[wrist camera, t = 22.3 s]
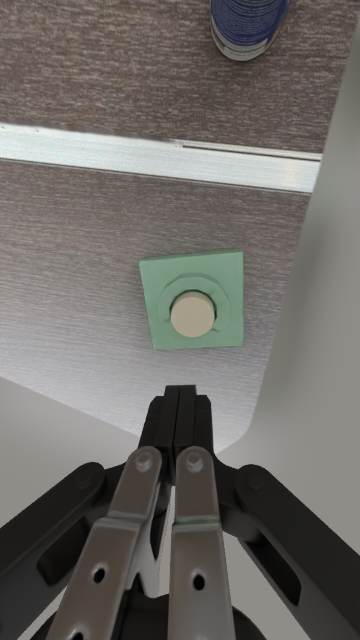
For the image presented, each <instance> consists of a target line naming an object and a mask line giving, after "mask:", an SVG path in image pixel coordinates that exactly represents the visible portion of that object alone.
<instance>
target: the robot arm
mask: <svg viewBox="0 0 360 640" xmlns="http://www.w3.org/2000/svg"><path fill="white" fill-rule="evenodd" d="M172 486H175V487H176V488H175V518H174V523H173V524H172V533H171V561H170V587H169V594H166V595H163V596H160V597H158V592H159V571H160V562H161V556H162V551H163V545H164V539H165V534H166V528H167V523H168V517H169V511H170V496H171V488H172ZM222 531H224V532H226V533H228V534H231V535H233V536H235V537H237V539H238V541H239V542H240V544H241V546H242V547H243V548H244V549H245V551H246V552H247V554H248V555H249V556H250V558H251V559H252V560H253V562H254V563H255V564H256V566H257V567H258V568H259V570H260V571H261V573H262V574H263V575H264V577H265V578H266V579H267V581H268V582H269V583H270V585H271V586H272V588H273V589H274V590H275V591H276V593H277V594H278V596H279V597H280V598H281V600H282V601H283V603H284V604H285V605H286V607H287V608H288V609H289V611H290V612H291V613H292V615H293V616H294V617H295V619H296V620H297V621H298V623H299V624H300V626H301V627H302V628H303V630H304V631H305V632H306V634H307V635H308V636H309V638H310V639H311V640H360V556H359V555H358V554H357V553H356V552H355V551H354V550H353V549H352V548H351V547H350V546H348V545H347V544H346V543H345V542H344V541H343V540H342V539H341V538H340V537H339V536H338V535H337V534H336V533H335V532H333V531H332V530H331V529H330V528H329V527H328V526H327V525H326V524H325V523H324V522H323V521H322V520H320V519H319V518H318V517H317V516H316V515H315V514H314V513H313V512H312V511H311V510H310V509H309V508H308V507H306V506H305V505H304V504H303V503H302V502H301V501H300V500H299V499H298V498H297V497H295V496H294V495H293V494H292V493H291V492H290V491H289V490H288V489H287V488H286V487H285V486H283V484H282V483H280V482H279V481H278V480H277V479H276V478H275V477H274V476H273V475H272V474H271V473H270V472H269V471H267V470H266V469H265V468H262V467H261V466H258V465H253V464H249V465H245V466H243V467H241V468H239V469H235V468H232V467H229V466H226V465H225V464H223V463H222V462H220V461H219V460H218V459H217V457H216V456H215V454H214V449H213V427H212V412H211V402H210V400H209V399H208V397H207V395H197V392H196V385H169V386H166V388H165V393H164V396H156V397H155V398H154V399H153V401H152V402H151V403H150V406H149V409H148V414H147V416H146V421H145V423H144V427H143V431H142V434H141V438H140V441H139V445H138V448H137V449H136V450H135V451H134V452H132V454H131V455H130V456H129V457H128V460H127V462H125V463H123V464H121V465H118V466H115V467H112V468H109V469H105V470H104V468H103V466H102V465H101V464H99V463H96V462H89V463H86V464H84V465H81V466H80V467H78V468H77V469H76V470H74V471H73V472H72V473H70V474H69V475H68V476H67V477H65V478H64V479H63V480H61V481H60V482H59V483H58V484H56V485H55V486H54V487H52V488H51V489H50V490H49V491H47V492H46V493H45V494H43V495H42V496H41V497H40V498H38V499H37V500H36V501H35V502H33V503H32V504H31V505H29V506H28V507H27V508H26V509H24V510H23V511H22V512H21V513H19V514H18V515H17V516H15V517H14V518H13V519H11V520H10V521H9V522H8V523H6V524H5V525H4V526H3V527H1V528H0V640H17V639H18V638H19V637H20V636H21V634H22V633H23V632H24V631H25V630H26V629H27V628H28V627H29V626H30V625H31V624H32V622H34V620H35V619H36V618H37V617H38V616H39V615H40V614H41V613H42V612H43V611H44V610H45V609H46V607H47V606H48V605H49V604H50V603H51V602H52V601H53V600H54V599H55V598H56V597H57V596H58V594H60V592H61V591H62V590H63V589H64V588H65V587H66V586H67V585H68V586H67V589H66V591H65V593H64V596H63V598H62V601H61V603H60V605H59V608H58V610H57V611H56V612H55V613H54V614H53V615H52V616H51V617H50V618H49V619H47V621H46V622H45V623H44V624H43V625H42V626H41V627H40V629H39V630H38V631H37V632H36V633H35V634H34V636H33V637H32V638H31V639H30V640H267V639H266V638H265V637H264V635H263V634H262V633H261V631H260V630H259V629H258V628H257V626H256V625H255V624H254V623H253V622H252V621H251V620H250V619H249V618H248V617H247V616H246V615H245V614H243V613H242V612H241V611H239V610H238V609H237V608H235V607H234V606H232V605H231V597H230V589H229V581H228V573H227V565H226V557H225V549H224V541H223V533H222Z"/></svg>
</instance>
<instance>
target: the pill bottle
mask: <svg viewBox="0 0 360 640" xmlns="http://www.w3.org/2000/svg"><path fill="white" fill-rule="evenodd" d="M290 3H291V0H210V26H211V31H212V35H213V38H214V41H215V43H216V45H217V47H218V48H219V50H220V51H221V52H222V53H223V54H224V55H226V56H227V57H228V58H230V59H233V60H238V61H246V60H250V59H253V58H255V57H257V56H259V55H260V54H262V53H263V52H264V51H265V50H266V49H267V48H268V47H269V46H270V44H271V43H272V41H273V40H274V38H275V37H276V35H277V33H278V31H279V29H280V26H281V24H282V22H283V19H284V17H285V15H286V13H287V10H288V7H289V5H290Z"/></svg>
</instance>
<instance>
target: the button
mask: <svg viewBox="0 0 360 640" xmlns="http://www.w3.org/2000/svg"><path fill="white" fill-rule="evenodd" d="M214 317H215V316H214V307H213V304H212V302H211V301H210V299H209V298H208V297H207V296H205V295H204V294H202V293H199V292H187V293H184V294H182V295H181V296H179V297H178V298H177V300H176V301H175V303H174V305H173V308H172V311H171V322H172V325H173V327H174V328H175V329H176V331H178V332H179V333H180V334H182V335H184V336H187V337H199V336H202V335H204V334H206V333H207V332H208V331H209V330H210V329H211V328H212V326H213V323H214Z"/></svg>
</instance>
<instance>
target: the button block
mask: <svg viewBox="0 0 360 640" xmlns="http://www.w3.org/2000/svg"><path fill="white" fill-rule="evenodd" d="M139 267H140V273H141V279H142V285H143V291H144V297H145V303H146V309H147V315H148V321H149V326H150V332H151V338H152V344H153V350H164V349H187V348H209V347H231V346H243V251H242V250H241V249H231V250H220V251H209V252H198V253H188V254H177V255H166V256H156V257H145V258H143V259H141V260H140V261H139ZM187 292H199V293H202V294H204V295H205V296H207V297H208V298H209V299H210V301H211V302H212V304H213V307H214V316H215V317H214V323H213V326H212V328H211V329H210V330H209V331H208V332H207V333H206V334H204V335H202V336H199V337H187V336H184V335H182V334H180V333H179V332H178V331H176V329H175V328H174V327H173V325H172V322H171V311H172V308H173V305H174V303H175V301H176V300H177V298H178V297H179V296H181V295H182V294H184V293H187Z"/></svg>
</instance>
